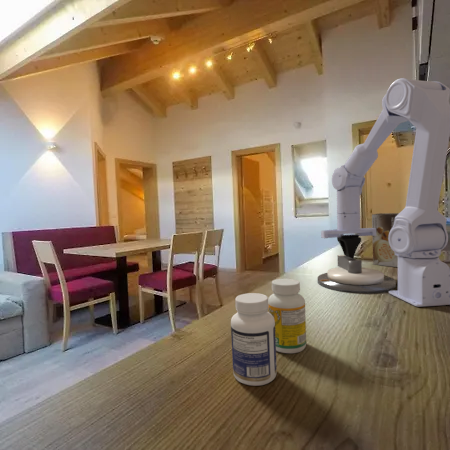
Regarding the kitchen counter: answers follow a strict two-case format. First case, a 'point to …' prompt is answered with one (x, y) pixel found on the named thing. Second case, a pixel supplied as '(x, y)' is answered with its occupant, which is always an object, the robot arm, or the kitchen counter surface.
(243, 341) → the pill bottle
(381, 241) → the coffee box
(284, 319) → the supplement bottle
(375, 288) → the dial plate
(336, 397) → the kitchen counter surface
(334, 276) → the dial
